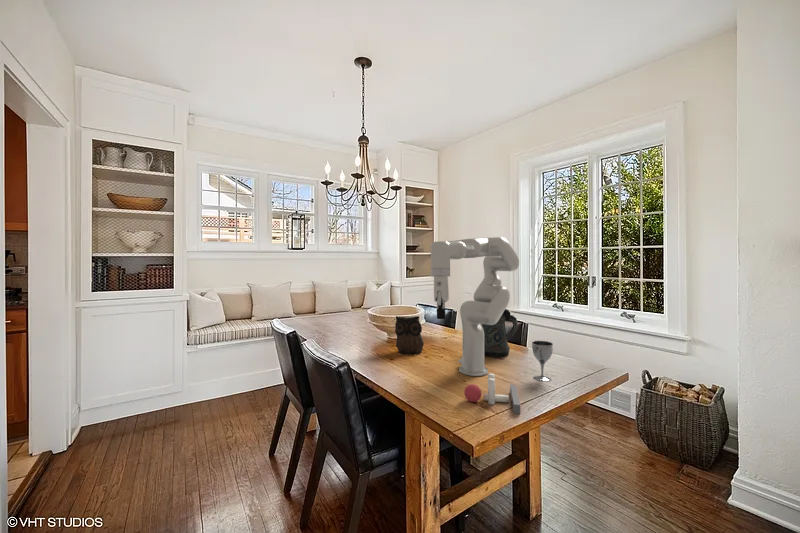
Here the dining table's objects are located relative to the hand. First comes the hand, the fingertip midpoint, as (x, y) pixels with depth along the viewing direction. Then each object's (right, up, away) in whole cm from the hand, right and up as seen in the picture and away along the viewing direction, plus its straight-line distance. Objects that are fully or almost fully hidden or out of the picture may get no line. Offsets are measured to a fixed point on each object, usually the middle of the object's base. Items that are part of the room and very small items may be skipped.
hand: (441, 318), depth 140 cm
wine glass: (+43, -26, +7) cm, 51 cm away
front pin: (+14, -26, -13) cm, 33 cm away
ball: (+10, -24, -15) cm, 30 cm away
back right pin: (+16, -27, -16) cm, 36 cm away
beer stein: (+34, -25, +45) cm, 62 cm away
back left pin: (+17, -27, -11) cm, 34 cm away
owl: (-11, -25, +50) cm, 57 cm away
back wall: (+24, -27, -16) cm, 40 cm away
